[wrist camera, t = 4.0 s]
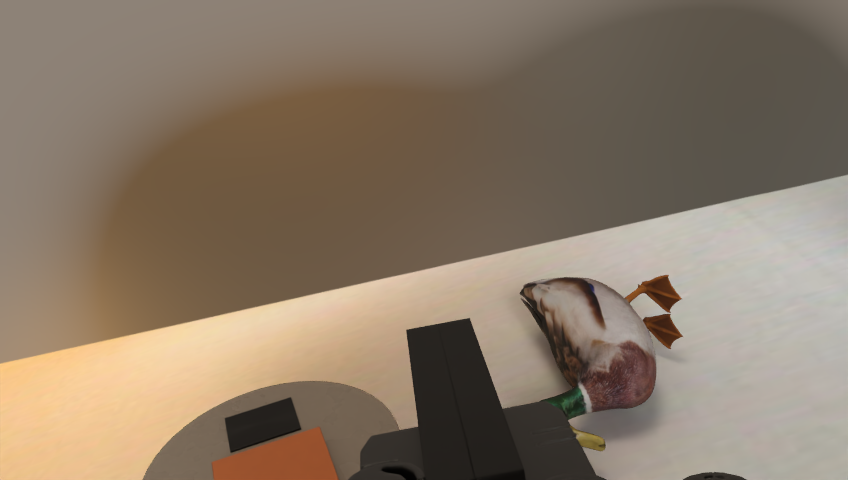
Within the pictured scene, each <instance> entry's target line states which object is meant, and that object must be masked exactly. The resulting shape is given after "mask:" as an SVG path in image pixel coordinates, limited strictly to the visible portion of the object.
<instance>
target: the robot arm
mask: <svg viewBox="0 0 848 480" xmlns="http://www.w3.org/2000/svg"><path fill="white" fill-rule="evenodd" d="M406 331H407V339H408V347H409V355H410V363H411V371H412V379H413V387H414V395H415V403H416V410H417V418H418V426H419V427H415V428H410V429H404V430H399V431H394V432H389V433H383V434H378V435H373V436H371V437H370V438H369V440H368V441H367V442H366V444H365V445H364V447H363V448H362V450H361V451H360V471H358V472H357V473H355V474H353V475H352V476H351V477H350V478H349V479H348V480H606V479H604V478H601V477H599V476H597V475H596V474H595V472H594V470H593V468H592V466H591V464H590V462H589V460H588V458H587V456H586V455H585V453H584V451H583V449H582V447H581V445H580V443H579V441H578V439H576V435H575V434H574V432H573V430H572V428H570V424H569V422H568V420H567V418H566V416H565V414H564V413H563V411H562V410H560V409H559V408H557V407H556V406H554V405H552V404H551V403H549V402H547V401H541V402H536V403H531V404H526V405H520V406H515V407H510V408H505V409H502V407H501V404H500V401H499V398H498V396H497V393H496V390H495V387H494V385H493V382H492V379H491V376H490V373H489V371H488V368H487V365H486V362H485V360H484V357H483V354H482V351H481V349H480V346H479V343H478V340H477V338H476V335H475V332H474V329H473V326H472V324H471V321H470V318H467V319H462V320H457V321H451V322H446V323H441V324H435V325H430V326H425V327H419V328H414V329H409V330H406ZM683 480H746V479H744V478H742V477H740V476H736V475H731V474H727V473H718V472H714V473H712V472H709V473H701V474H696V475H692V476H689V477H687V478H685V479H683Z"/></svg>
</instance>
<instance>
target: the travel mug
mask: <svg viewBox="0 0 848 480" xmlns="http://www.w3.org/2000/svg"><path fill="white" fill-rule="evenodd" d="M316 427H320V429H321V431H322V434H323V437H324V440H325V443H326V445H327V448H328V451H329V454H330V456H331V459H332V462H333V465H334V468H335V470H336V473H337V476H338V479H339V480H348V479H349V478H350V477H351V476H352V475H353V474H355V473H357V472H358V471H360V451H361V450H362V448H363V447H364V445H365V444H366V442H367V441H368V440H369V438H370V437H371V436H373V435H378V434H383V433H389V432H394V431H399V427H398V425H397V422H396V420H395V418H394V417H393V415H392V413H391V412H390V411H389V409H388V408H387V407H386V406H385V405H384V404H383V403H382V402H380V401H379V400H378V399H376V398H375V397H374V396H372V395H370V394H368V393H366V392H365V391H363V390H360V389H357V388H354V387H352V386H348V385H344V384H339V383H332V382H322V381H303V382H292V383H284V384H279V385H274V386H269V387H265V388H261V389H258V390H254V391H251V392H248V393H246V394H243V395H240V396H237V397H235V398H233V399H230V400H228V401H226V402H224V403H222V404H220V405H218V406H216V407H214V408H212V409H210V410H209V411H207V412H205V413H204V414H202V415H201V416H199V417H197V418H196V419H195V420H193V421H192V422H191V423H189V424H188V425H186V426H185V427H184V428H183V429H182V430H180V431H179V432H178V433H177V434H176V435H175V436H173V437H172V438H171V440H170V441H169V442H168V443H167V444H166V445H165V446H164V447H163V448H162V449H161V450H160V452H159V453H158V454H157V455H156V457H155V458H154V460H153V461H152V463H151V464H150V466H149V468H148V469H147V471H146V473H145V476H144V478H143V480H214V478H213V471H212V462H214V461H217V460H220V459H223V458H226V457H229V456H232V455H235V454H238V453H241V452H244V451H247V450H250V449H253V448H256V447H259V446H262V445H265V444H268V443H271V442H274V441H277V440H280V439H283V438H286V437H289V436H292V435H295V434H298V433H301V432H304V431H307V430H310V429H313V428H316Z"/></svg>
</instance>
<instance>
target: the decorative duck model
mask: <svg viewBox="0 0 848 480" xmlns="http://www.w3.org/2000/svg"><path fill="white" fill-rule="evenodd" d="M668 276H669V275H664V276H659V277H656V278H654V279H652V280H650V281H644V282H642V284H641V285H639V284H638V288H637V289H636V290H635V291H634V292H632V293H631V294H630V295H628V296H627V297H625V298H623V297H622V296H621V295H620V294H619V293H617V292H616V291H615V290H613V289H612V288H610V287H608V286H607V285H605V284H603V283H601V282H598V281H596V280H592V279H589V278H573V277H564V278H553V279H543V280H538V281H535V282H531V283H528V284H525V285H524V288H523V289H522V290H521V292H520V295H522V296H523V297H524V298H525V299H526V300H527V301H528V302H529V303H530V305H531V306H532V307H531V306H530V305H529V304H528V303H527V302H526V301H525V300H523V299H521V300H522V301H523V303H524V304H525V305H526V307H527V308H528V309H529V310H530V312H531V313H532V315H533V317H534V318H535V320H536V322H537V323H538V325H539V327H540V329H541V330H542V332H543V333H544V335H545V336H546V338H547V339H548V342H549V344H550V347H551V350H552V353H553V355H554V357H555V360H556V362H557V364H558V366H559V368H560V370H561V372H562V374H563V375H564V377H565V378H566V380H567V381H568V383H569V384H570V385H571V386H572V387H573V389H571V390H570V391H568V392H566V393H563V394H560V395H557V396H555V397H551V398H548V399H545V400H541V401H547V402H549V403H551V404H552V405H554V406H556V407H557V408H559V409H560V410H562V411H563V413H564V414H565V416H566V418H567V420H569V419H571V418H574V417H576V416H579V415H582V414H586V413H590V412H595V411H601V410H607V409H614V408H633V407H635V406H638V405H641V404H642V403H644V402H645V401H646V400H647V399H648V398H649V397H650V395H651V394H652V392H653V389H654V386H655V380H656V357H655V351H654V347H653V342H652V339H651V336H650V334H649V331H650V332H651V333H652V334H653V335H654V336H655V337H656V338H657V339H658V340H659V341H660V342H661V343H662V344H663V345H664V346H666V347H667V348H668V349H671V348H670V347H671V345H672V343H673V342H674V341H675V340H676V339H678V338H680V337H683V336H682V335H681V334H680V332H679V331H678V329H677V328H676V327H675V325H674V324H673V322H672V320H671V318H670V315H671V314H663V315H659V316H653V317H645V318H644V319H643V320H642V319H641V318H640V316H639V315H638V314H637V313H636V312H635V310H634V309H633V308H632V306H631V305H630V302H631V301H632V300H633V299H635V298H636V297H637V296H638V295H639V294H642V293H646V294H647V295H648V296H649V297H650V298H651V299H652V300H654V301H655V302H656V303H657V304H658V305H659V306H660V307H662V308H663V309H664V310H665V311H667V312H669V313H671V312H670V309H671V307H672V306H673V305H674V304H675V303H676V302H678V301H679V300H680V299H682V298H680V296H679V295H678V294H677V293H676V291H675V290H674V288H673V287H672V286H671V284H670V281H669V279H668ZM534 310H535V311H534ZM648 330H649V331H648ZM541 401H539V402H541ZM570 428H572V430H573V432H574V434H575V435H576V439H578V441H579V443H580V445H581V446H583V447H587V448H590V449H594V450H598V451H603V450H604V449H605V441H604V439H603V438H601V437H599V436H597V435H594V434H590V433H587V432H583V431H579V430H576V429H575V428H573V427H572V426H571V425H570Z"/></svg>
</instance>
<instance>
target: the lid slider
mask: <svg viewBox="0 0 848 480" xmlns="http://www.w3.org/2000/svg"><path fill="white" fill-rule="evenodd" d="M212 471H213V478H214V480H339V479H338V476H337V473H336V470H335V468H334V465H333V462H332V459H331V456H330V454H329V451H328V448H327V445H326V443H325V440H324V437H323V434H322V431H321V429H320V427H316V428H313V429H310V430H307V431H304V432H301V433H298V434H295V435H292V436H289V437H286V438H283V439H280V440H277V441H274V442H271V443H268V444H265V445H262V446H259V447H256V448H253V449H250V450H247V451H244V452H241V453H238V454H235V455H232V456H229V457H226V458H223V459H220V460H217V461H214V462H212Z"/></svg>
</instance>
